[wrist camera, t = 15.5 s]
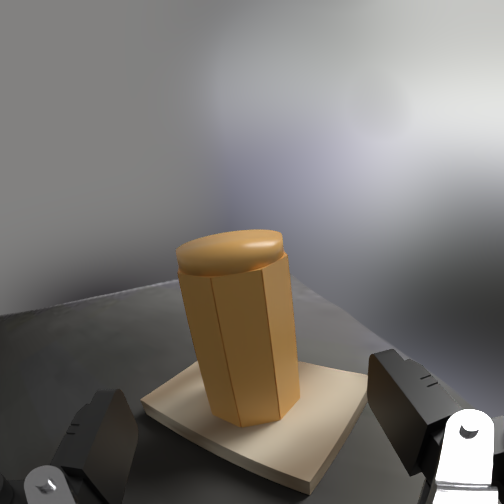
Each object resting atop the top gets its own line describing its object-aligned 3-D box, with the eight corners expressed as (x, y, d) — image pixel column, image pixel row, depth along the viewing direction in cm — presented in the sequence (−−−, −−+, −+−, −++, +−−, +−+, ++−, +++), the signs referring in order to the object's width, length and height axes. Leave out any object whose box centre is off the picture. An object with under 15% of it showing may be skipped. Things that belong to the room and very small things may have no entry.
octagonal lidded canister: (194, 405, 20) (154, 253, 18) (246, 364, 25) (224, 229, 22) (264, 437, 17) (235, 260, 14) (312, 383, 21) (301, 229, 18)
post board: (146, 413, 21) (111, 318, 19) (226, 355, 29) (210, 271, 27) (309, 495, 13) (306, 385, 11) (372, 391, 21) (377, 287, 19)
